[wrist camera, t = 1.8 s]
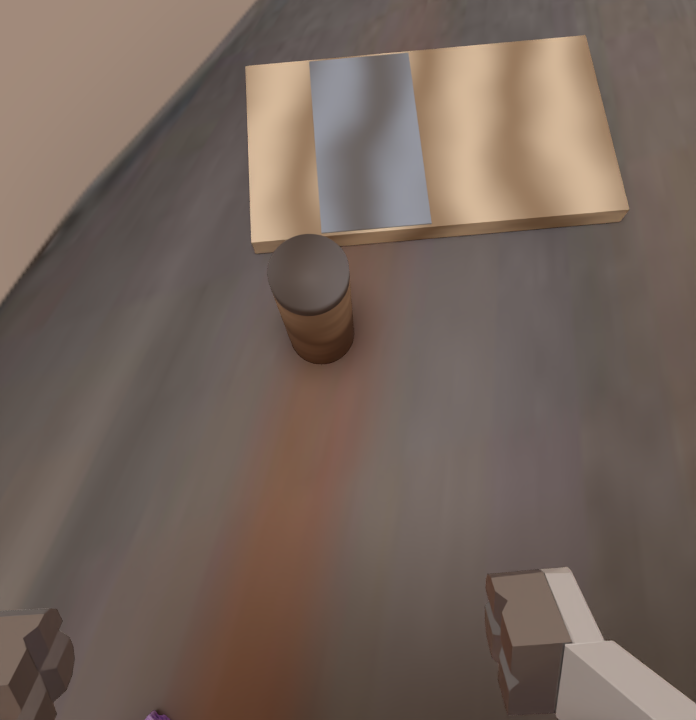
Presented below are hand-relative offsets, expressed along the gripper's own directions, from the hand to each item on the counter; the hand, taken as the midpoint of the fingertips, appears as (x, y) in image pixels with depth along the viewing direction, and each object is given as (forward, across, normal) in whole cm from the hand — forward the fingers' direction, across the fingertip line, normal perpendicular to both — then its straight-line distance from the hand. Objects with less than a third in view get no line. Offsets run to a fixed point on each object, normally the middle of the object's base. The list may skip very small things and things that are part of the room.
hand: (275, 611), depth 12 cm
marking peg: (+27, 0, +6) cm, 27 cm away
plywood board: (+36, -8, -3) cm, 37 cm away
